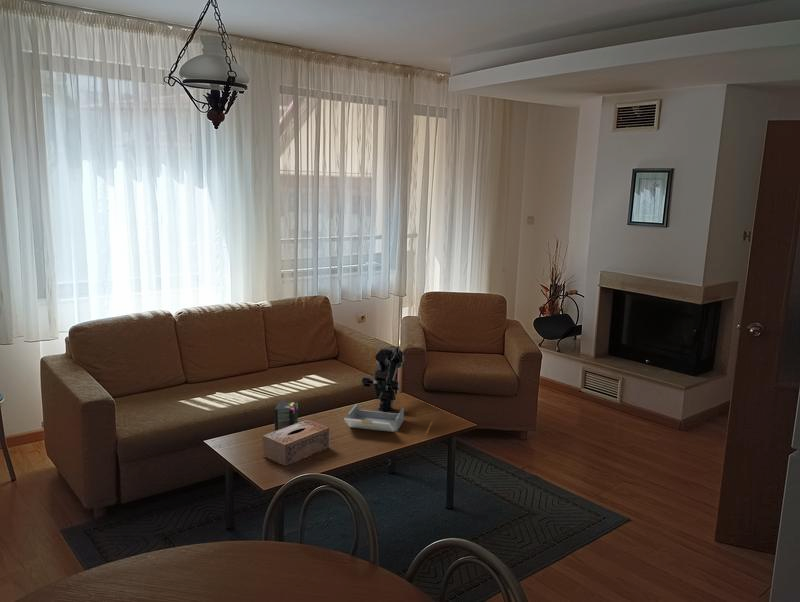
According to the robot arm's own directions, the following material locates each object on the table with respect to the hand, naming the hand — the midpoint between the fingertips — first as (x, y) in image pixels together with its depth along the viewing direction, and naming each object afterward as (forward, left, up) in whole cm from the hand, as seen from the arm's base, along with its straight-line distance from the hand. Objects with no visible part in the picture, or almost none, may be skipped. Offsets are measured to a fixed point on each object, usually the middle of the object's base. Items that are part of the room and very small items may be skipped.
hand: (377, 399), depth 314 cm
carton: (+2, +1, -13) cm, 13 cm away
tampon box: (+41, -20, -13) cm, 47 cm away
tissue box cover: (+50, -1, -13) cm, 52 cm away
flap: (+8, +5, -12) cm, 15 cm away
